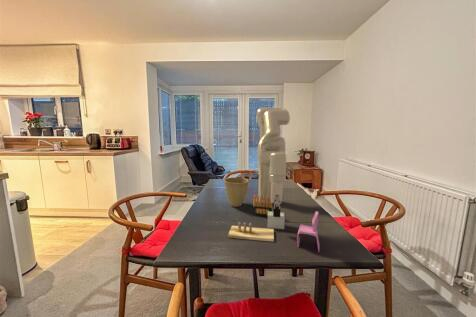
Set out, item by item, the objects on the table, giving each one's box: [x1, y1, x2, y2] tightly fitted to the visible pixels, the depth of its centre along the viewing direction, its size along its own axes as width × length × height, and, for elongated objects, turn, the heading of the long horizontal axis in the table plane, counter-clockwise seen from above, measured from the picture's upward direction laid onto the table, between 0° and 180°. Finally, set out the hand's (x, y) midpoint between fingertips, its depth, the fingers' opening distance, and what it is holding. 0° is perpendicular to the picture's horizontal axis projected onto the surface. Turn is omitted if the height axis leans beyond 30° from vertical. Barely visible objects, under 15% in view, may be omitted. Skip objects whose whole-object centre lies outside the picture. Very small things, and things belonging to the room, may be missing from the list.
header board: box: [227, 221, 275, 242], centre depth 95 cm, size 9×20×5 cm, turn 81°
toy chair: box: [296, 210, 320, 253], centre depth 85 cm, size 8×9×15 cm
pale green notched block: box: [266, 211, 286, 230], centre depth 103 cm, size 5×8×6 cm, turn 81°
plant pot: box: [223, 176, 249, 208], centre depth 130 cm, size 15×15×16 cm
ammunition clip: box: [252, 193, 273, 217], centre depth 115 cm, size 11×2×12 cm, turn 77°
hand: (276, 212), depth 101 cm, fingers open, 9 cm apart
